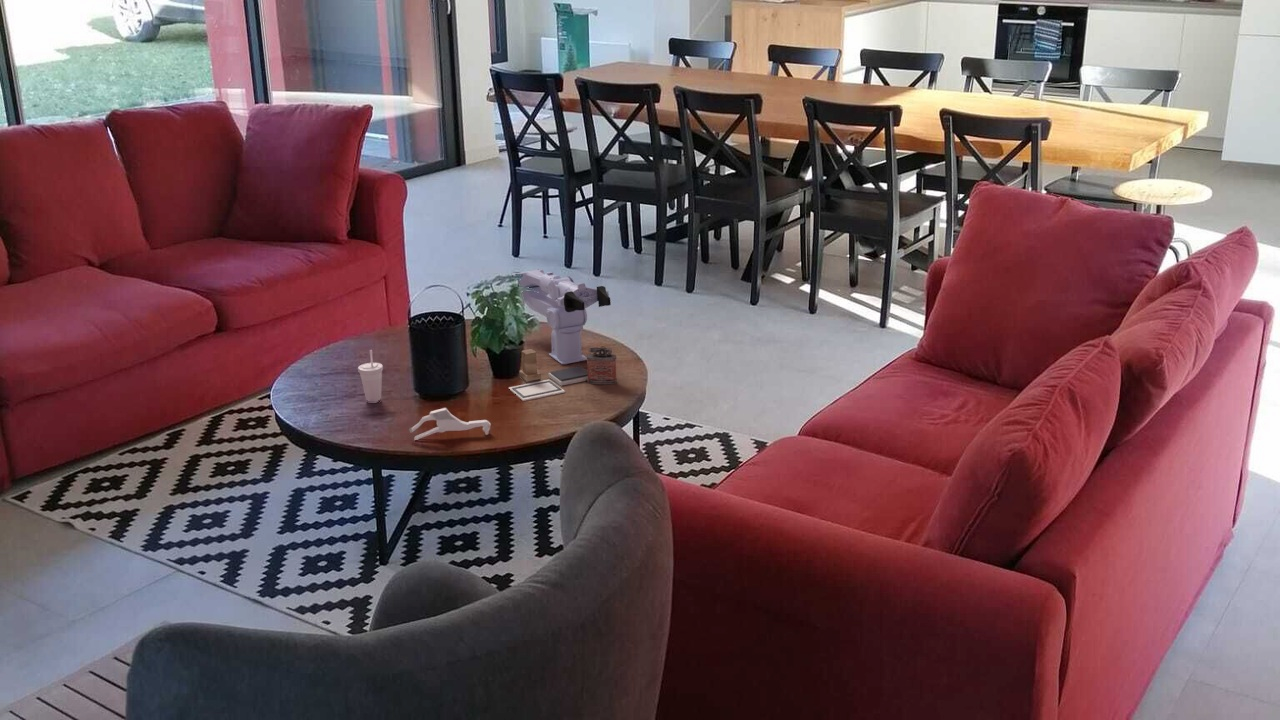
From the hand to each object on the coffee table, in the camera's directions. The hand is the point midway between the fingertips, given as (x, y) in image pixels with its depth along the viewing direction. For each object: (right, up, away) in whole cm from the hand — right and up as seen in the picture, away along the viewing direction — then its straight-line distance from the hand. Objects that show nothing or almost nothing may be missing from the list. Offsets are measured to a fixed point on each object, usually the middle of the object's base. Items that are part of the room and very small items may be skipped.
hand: (596, 303), depth 328 cm
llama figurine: (-35, -34, -27) cm, 55 cm away
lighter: (+1, -21, +6) cm, 22 cm away
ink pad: (-7, -20, +9) cm, 23 cm away
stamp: (-18, -20, +9) cm, 29 cm away
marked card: (-16, -23, +1) cm, 28 cm away
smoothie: (-58, -26, -4) cm, 64 cm away
